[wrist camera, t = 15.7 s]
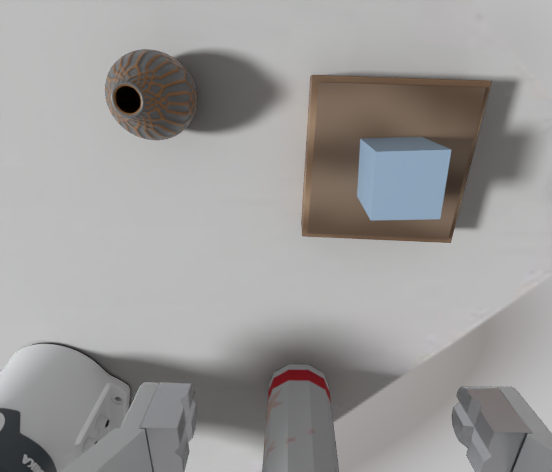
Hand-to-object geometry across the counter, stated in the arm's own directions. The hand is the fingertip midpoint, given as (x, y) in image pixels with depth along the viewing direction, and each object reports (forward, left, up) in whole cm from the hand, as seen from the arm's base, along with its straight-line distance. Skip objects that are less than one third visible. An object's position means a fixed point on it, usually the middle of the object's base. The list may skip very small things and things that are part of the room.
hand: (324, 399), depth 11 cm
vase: (+7, +13, -27) cm, 31 cm away
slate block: (+2, -7, -23) cm, 24 cm away
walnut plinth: (+2, -7, -27) cm, 28 cm away
